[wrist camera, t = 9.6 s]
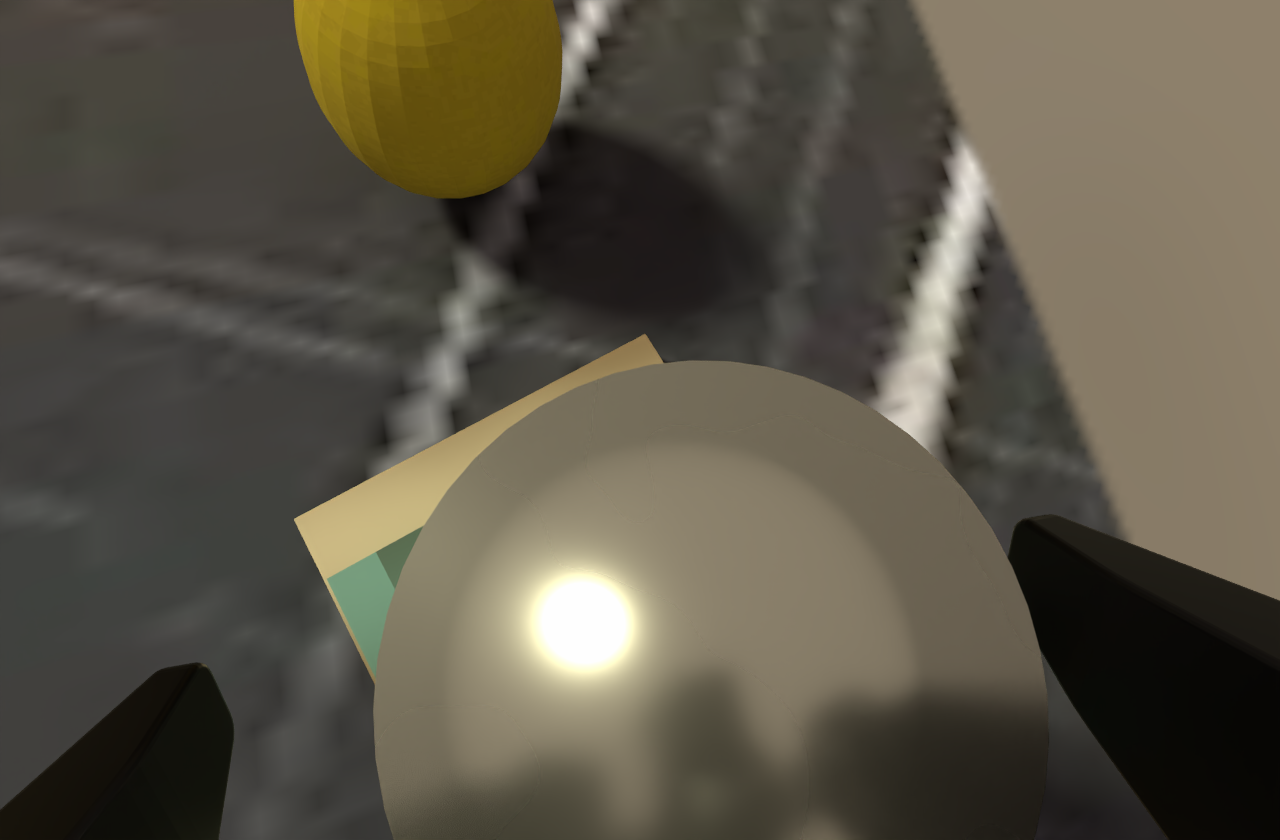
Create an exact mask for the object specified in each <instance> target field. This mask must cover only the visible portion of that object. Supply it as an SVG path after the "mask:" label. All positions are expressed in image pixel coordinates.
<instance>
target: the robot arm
mask: <svg viewBox="0 0 1280 840" xmlns="http://www.w3.org/2000/svg"><path fill="white" fill-rule="evenodd" d="M1008 560H1009V562H1010V564H1011V566H1012V568H1013V570H1014V573H1015V575H1016V578H1017V580H1018V583H1019V585H1020V588H1021V590H1022V593H1023V595H1024V598H1025V600H1026V603H1027V605H1028V608H1029V612H1030V615H1031V619H1032V622H1033V626H1034V630H1035V633H1036V637H1037V641H1038V644H1039V648H1040V650H1041V652H1042V653H1043V655H1044V657H1045V659H1046V660H1047V662H1048V664H1049V666H1050V667H1051V669H1052V671H1053V673H1054V674H1055V676H1056V678H1057V680H1058V681H1059V683H1060V685H1061V686H1062V688H1063V690H1064V691H1065V693H1066V695H1067V696H1068V698H1069V700H1070V701H1071V703H1072V704H1073V706H1074V708H1075V709H1076V711H1077V712H1078V714H1079V715H1080V717H1081V718H1082V719H1083V721H1084V722H1085V724H1086V725H1087V727H1088V728H1089V730H1090V731H1091V733H1092V734H1093V735H1094V737H1095V738H1096V740H1097V741H1098V742H1099V744H1100V745H1101V747H1102V748H1103V749H1104V751H1105V752H1106V754H1107V755H1108V756H1109V758H1110V759H1111V761H1112V762H1113V763H1114V765H1115V766H1116V768H1117V769H1118V770H1119V772H1120V773H1121V775H1122V776H1123V777H1124V779H1125V780H1126V782H1127V783H1128V784H1129V786H1130V787H1131V789H1132V790H1133V791H1134V793H1135V794H1136V796H1137V797H1138V798H1139V800H1140V801H1141V803H1142V804H1143V805H1144V807H1145V808H1146V810H1147V811H1148V812H1149V814H1150V815H1151V817H1152V818H1153V819H1154V821H1155V822H1156V824H1157V825H1158V826H1159V828H1160V829H1161V831H1162V832H1163V833H1164V835H1165V836H1166V838H1167V839H1168V840H1280V601H1279V600H1277V599H1274V598H1271V597H1269V596H1266V595H1264V594H1261V593H1258V592H1256V591H1253V590H1250V589H1248V588H1245V587H1243V586H1240V585H1237V584H1235V583H1232V582H1230V581H1227V580H1225V579H1222V578H1219V577H1216V576H1214V575H1211V574H1209V573H1206V572H1204V571H1201V570H1199V569H1196V568H1193V567H1191V566H1188V565H1186V564H1183V563H1180V562H1178V561H1175V560H1173V559H1170V558H1167V557H1165V556H1162V555H1160V554H1157V553H1154V552H1151V551H1149V550H1147V549H1144V548H1141V547H1139V546H1136V545H1133V544H1131V543H1128V542H1126V541H1123V540H1120V539H1118V538H1115V537H1113V536H1110V535H1107V534H1105V533H1102V532H1100V531H1097V530H1094V529H1092V528H1089V527H1087V526H1084V525H1081V524H1079V523H1076V522H1074V521H1071V520H1068V519H1066V518H1063V517H1061V516H1058V515H1052V514H1049V515H1042V516H1036V517H1030V518H1025V519H1022V520H1020V521H1019V522H1018V523H1017V524H1016V525H1015V527H1014V530H1013V534H1012V539H1011V544H1010V548H1009V553H1008ZM233 742H234V724H233V719H232V716H231V713H230V711H229V709H228V707H227V705H226V702H225V700H224V698H223V696H222V694H221V692H220V689H219V687H218V685H217V683H216V681H215V679H214V676H213V674H212V672H211V671H210V669H209V668H208V667H207V666H206V665H205V664H203V663H190V664H184V665H179V666H173V667H167V668H164V669H161V670H159V671H157V672H156V673H154V674H153V675H152V676H150V677H149V678H148V679H147V680H146V681H145V682H144V683H143V684H141V685H140V686H139V687H138V688H137V689H136V690H135V691H134V692H132V693H131V694H130V695H129V696H128V697H127V698H126V699H125V700H123V701H122V702H121V703H120V704H119V705H118V706H117V707H116V708H114V709H113V710H112V711H111V712H110V713H109V714H108V715H107V716H105V717H104V718H103V719H102V720H101V721H100V722H99V723H98V724H96V725H95V726H94V727H93V728H92V729H91V730H90V731H88V732H87V733H86V734H85V735H84V736H83V737H82V738H81V739H79V740H78V741H77V742H76V743H75V744H74V745H73V746H72V747H70V748H69V749H68V750H67V751H66V752H65V753H64V754H63V755H61V756H60V757H59V758H58V759H57V760H56V761H55V762H54V763H52V764H51V765H50V766H49V767H48V768H47V769H46V770H45V771H43V772H42V773H41V774H40V775H39V776H38V777H37V778H35V779H34V780H33V781H32V782H31V783H30V784H29V785H28V786H26V787H25V788H24V789H23V790H22V791H21V792H20V793H19V794H17V795H16V796H15V797H14V798H13V799H12V800H11V801H10V802H8V803H7V804H6V805H5V806H4V807H3V808H2V809H1V810H0V840H218V839H219V833H220V826H221V820H222V814H223V807H224V801H225V794H226V788H227V781H228V775H229V768H230V762H231V755H232V749H233Z"/></svg>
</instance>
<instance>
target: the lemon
mask: <svg viewBox="0 0 1280 840" xmlns="http://www.w3.org/2000/svg"><path fill="white" fill-rule="evenodd" d="M294 17H295V25H296V33H297V38H298V43H299V48H300V51H301V55H302V58H303V62H304V65H305V68H306V71H307V75H308V78H309V81H310V84H311V87H312V90H313V92H314V95H315V98H316V100H317V102H318V104H319V106H320V108H321V110H322V111H323V113H324V114H325V116H326V117H327V119H328V121H329V122H330V123H331V125H332V126H333V128H334V129H335V131H336V132H337V134H338V135H339V136H340V138H341V139H342V141H343V142H344V143H345V145H346V146H347V147H348V148H349V150H350V151H351V152H352V153H353V154H354V155H355V156H356V157H357V158H358V159H359V160H361V161H362V162H363V163H364V164H365V165H367V166H368V167H369V168H370V169H371V170H373V171H374V172H375V173H376V174H377V175H379V176H380V177H382V178H383V179H385V180H387V181H389V182H391V183H393V184H395V185H397V186H399V187H401V188H403V189H405V190H407V191H409V192H413V193H416V194H421V195H425V196H430V197H434V198H466V197H470V196H475V195H480V194H484V193H487V192H489V191H491V190H493V189H495V188H497V187H500V186H502V185H504V184H506V183H507V182H508V181H509V180H511V179H512V178H513V177H514V176H516V175H517V174H518V173H519V172H521V171H522V170H523V169H524V168H525V167H527V166H528V164H529V163H530V162H531V160H532V159H533V158H534V156H535V155H536V154H537V152H538V151H539V150H540V148H541V147H542V145H543V144H544V142H545V140H546V138H547V135H548V133H549V130H550V127H551V125H552V122H553V119H554V117H555V114H556V111H557V108H558V104H559V99H560V92H561V75H562V43H561V35H560V29H559V24H558V21H557V17H556V13H555V9H554V5H553V1H552V0H294Z"/></svg>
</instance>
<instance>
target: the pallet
mask: <svg viewBox="0 0 1280 840" xmlns="http://www.w3.org/2000/svg"><path fill="white" fill-rule="evenodd" d="M662 363H663V361H662V359H661V358H660V356H659V355H658V353H657V352H656V350H655V348H654V347H653V345H652V344H651V342H650V341H649V339H648V337H647V336H646V334H644V335H642V336H640V337H638V338H637V339H635V340H633V341H631V342H629V343H627V344H625V345H623V346H621V347H619V348H618V349H616V350H614V351H612V352H610V353H608V354H606V355H604V356H602V357H600V358H599V359H597V360H595V361H593V362H591V363H589V364H587V365H585V366H583V367H581V368H580V369H578V370H576V371H574V372H572V373H570V374H568V375H566V376H564V377H563V378H561V379H559V380H557V381H555V382H553V383H551V384H549V385H547V386H545V387H544V388H542V389H540V390H538V391H536V392H534V393H532V394H530V395H528V396H526V397H525V398H523V399H521V400H519V401H517V402H515V403H513V404H511V405H509V406H507V407H506V408H504V409H502V410H500V411H498V412H496V413H494V414H492V415H490V416H489V417H487V418H485V419H483V420H481V421H479V422H477V423H475V424H473V425H471V426H470V427H468V428H466V429H464V430H462V431H460V432H458V433H456V434H454V435H452V436H451V437H449V438H447V439H445V440H443V441H441V442H439V443H437V444H435V445H433V446H432V447H430V448H428V449H426V450H424V451H422V452H420V453H418V454H416V455H415V456H413V457H411V458H409V459H407V460H405V461H403V462H401V463H399V464H397V465H396V466H394V467H392V468H390V469H388V470H386V471H384V472H382V473H380V474H378V475H377V476H375V477H373V478H371V479H369V480H367V481H365V482H363V483H361V484H359V485H358V486H356V487H354V488H352V489H350V490H348V491H346V492H344V493H342V494H341V495H339V496H337V497H335V498H333V499H331V500H329V501H327V502H325V503H323V504H322V505H320V506H318V507H316V508H314V509H312V510H310V511H308V512H306V513H304V514H303V515H301V516H299V517H297V518H295V519H294V520H295V522H296V524H297V526H298V528H299V530H300V533H301V535H302V537H303V539H304V541H305V543H306V545H307V547H308V549H309V551H310V553H311V555H312V557H313V559H314V561H315V563H316V565H317V567H318V569H319V571H320V573H321V575H322V577H323V579H324V582H325V584H326V586H327V588H328V590H329V592H330V594H331V596H332V598H333V600H334V602H335V604H336V606H337V608H338V610H339V612H340V614H341V616H342V618H343V620H344V622H345V624H346V626H347V628H348V631H349V633H350V635H351V637H352V639H353V641H354V643H355V645H356V647H357V649H358V651H359V653H360V655H361V657H362V659H363V661H364V663H365V665H366V667H367V669H368V671H369V673H370V675H371V678H372V680H373V682H374V684H375V682H376V669H377V659H378V654H379V649H380V644H381V640H382V635H383V630H384V625H385V621H386V616H387V612H388V609H389V606H390V603H391V600H392V597H393V594H394V591H395V588H396V586H397V583H398V580H399V577H400V574H401V571H402V568H403V566H404V564H405V562H406V560H407V558H408V556H409V554H410V552H411V550H412V548H413V546H414V544H415V542H416V540H417V538H418V536H419V534H420V532H421V530H422V528H423V526H424V525H425V523H426V522H427V520H428V519H429V517H430V516H431V514H432V513H433V511H434V510H435V508H436V506H437V505H438V503H439V502H440V500H441V499H442V497H443V496H444V494H445V493H446V491H447V490H448V489H449V488H450V487H451V485H452V484H453V483H454V482H455V481H456V480H457V478H458V477H459V476H460V475H461V474H462V473H463V471H464V470H465V469H466V468H467V467H468V466H469V464H470V463H471V462H472V461H473V460H474V459H475V457H477V456H478V455H479V454H480V453H481V452H482V451H483V450H484V449H485V448H487V447H488V446H489V445H490V444H491V443H492V442H493V441H494V440H495V439H497V438H498V437H499V436H500V435H501V434H502V433H503V432H504V431H505V430H506V429H508V428H509V427H511V426H512V425H514V424H515V423H517V422H518V421H519V420H521V419H522V418H524V417H525V416H527V415H528V414H529V413H531V412H532V411H534V410H535V409H537V408H538V407H540V406H541V405H543V404H545V403H547V402H549V401H551V400H553V399H555V398H556V397H558V396H560V395H562V394H564V393H566V392H568V391H570V390H572V389H574V388H576V387H578V386H581V385H584V384H586V383H589V382H592V381H594V380H597V379H600V378H602V377H605V376H608V375H611V374H613V373H617V372H622V371H626V370H630V369H635V368H639V367H643V366H648V365H652V364H662Z"/></svg>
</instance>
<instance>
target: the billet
mask: <svg viewBox="0 0 1280 840" xmlns="http://www.w3.org/2000/svg"><path fill="white" fill-rule="evenodd" d="M373 713H374V735H375V757H376V764H377V769H378V775H379V781H380V786H381V792H382V798H383V803H384V809H385V812H386V815H387V818H388V822H389V825H390V828H391V831H392V834H393V838H394V840H1034V837H1035V834H1036V829H1037V824H1038V819H1039V815H1040V810H1041V805H1042V800H1043V795H1044V790H1045V782H1046V770H1047V758H1048V745H1049V732H1048V706H1047V691H1046V685H1045V678H1044V672H1043V665H1042V659H1041V653H1040V648H1039V644H1038V641H1037V637H1036V633H1035V630H1034V626H1033V622H1032V619H1031V615H1030V612H1029V608H1028V605H1027V603H1026V600H1025V598H1024V595H1023V593H1022V590H1021V588H1020V585H1019V583H1018V580H1017V578H1016V575H1015V573H1014V570H1013V568H1012V566H1011V564H1010V562H1009V560H1008V558H1007V556H1006V554H1005V553H1004V551H1003V549H1002V547H1001V545H1000V543H999V541H998V540H997V538H996V536H995V534H994V532H993V530H992V529H991V527H990V526H989V524H988V523H987V521H986V520H985V518H984V517H983V516H982V514H981V513H980V511H979V510H978V508H977V507H976V505H975V504H974V503H973V501H972V500H971V498H970V497H969V495H968V494H967V493H966V492H965V490H964V489H963V488H962V487H961V486H960V485H959V484H958V482H957V481H956V480H955V479H954V478H953V477H952V476H951V474H950V473H949V472H948V471H947V470H946V469H945V468H944V467H943V465H942V464H941V463H940V462H939V461H938V460H937V459H936V458H934V457H933V456H932V455H931V454H930V453H929V452H928V451H927V450H926V449H925V448H923V447H922V446H921V445H920V444H919V443H918V442H917V441H916V440H915V439H914V438H912V437H911V436H910V435H909V434H908V433H906V432H905V431H903V430H902V429H901V428H899V427H898V426H896V425H895V424H894V423H892V422H891V421H889V420H888V419H887V418H885V417H884V416H883V415H881V414H880V413H878V412H877V411H875V410H873V409H871V408H870V407H868V406H866V405H864V404H862V403H861V402H859V401H857V400H855V399H853V398H852V397H850V396H848V395H846V394H844V393H843V392H840V391H838V390H835V389H833V388H830V387H828V386H826V385H823V384H821V383H818V382H816V381H813V380H811V379H808V378H806V377H802V376H799V375H795V374H792V373H788V372H784V371H781V370H777V369H773V368H770V367H764V366H757V365H751V364H744V363H737V362H730V361H681V362H672V363H662V364H652V365H648V366H643V367H639V368H635V369H630V370H626V371H622V372H617V373H613V374H611V375H608V376H605V377H602V378H600V379H597V380H594V381H592V382H589V383H586V384H584V385H581V386H578V387H576V388H574V389H572V390H570V391H568V392H566V393H564V394H562V395H560V396H558V397H556V398H555V399H553V400H551V401H549V402H547V403H545V404H543V405H541V406H540V407H538V408H537V409H535V410H534V411H532V412H531V413H529V414H528V415H527V416H525V417H524V418H522V419H521V420H519V421H518V422H517V423H515V424H514V425H512V426H511V427H509V428H508V429H506V430H505V431H504V432H503V433H502V434H501V435H500V436H499V437H498V438H497V439H495V440H494V441H493V442H492V443H491V444H490V445H489V446H488V447H487V448H485V449H484V450H483V451H482V452H481V453H480V454H479V455H478V456H477V457H475V459H474V460H473V461H472V462H471V463H470V464H469V466H468V467H467V468H466V469H465V470H464V471H463V473H462V474H461V475H460V476H459V477H458V478H457V480H456V481H455V482H454V483H453V484H452V485H451V487H450V488H449V489H448V490H447V491H446V493H445V494H444V496H443V497H442V499H441V500H440V502H439V503H438V505H437V506H436V508H435V510H434V511H433V513H432V514H431V516H430V517H429V519H428V520H427V522H426V523H425V525H424V526H423V528H422V530H421V532H420V534H419V536H418V538H417V540H416V542H415V544H414V546H413V548H412V550H411V552H410V554H409V556H408V558H407V560H406V562H405V564H404V566H403V568H402V571H401V574H400V577H399V580H398V583H397V586H396V588H395V591H394V594H393V597H392V600H391V603H390V606H389V609H388V612H387V616H386V621H385V625H384V630H383V635H382V640H381V644H380V649H379V654H378V659H377V669H376V682H375V694H374V706H373Z"/></svg>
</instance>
